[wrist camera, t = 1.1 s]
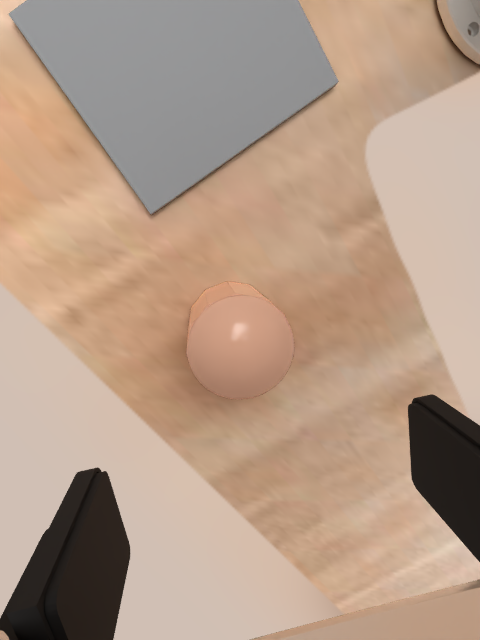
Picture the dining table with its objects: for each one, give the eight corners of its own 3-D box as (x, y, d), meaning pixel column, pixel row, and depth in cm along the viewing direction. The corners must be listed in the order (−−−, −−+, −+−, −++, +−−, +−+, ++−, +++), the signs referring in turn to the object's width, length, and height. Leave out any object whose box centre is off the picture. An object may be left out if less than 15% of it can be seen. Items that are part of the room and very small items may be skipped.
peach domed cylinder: (280, 288, 28) (303, 304, 22) (265, 368, 30) (283, 403, 24) (195, 276, 27) (194, 288, 21) (184, 359, 29) (180, 394, 23)
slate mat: (224, -134, 22) (224, -147, 21) (334, 86, 25) (338, 81, 25) (14, 21, 22) (8, 13, 22) (152, 214, 26) (150, 214, 25)
